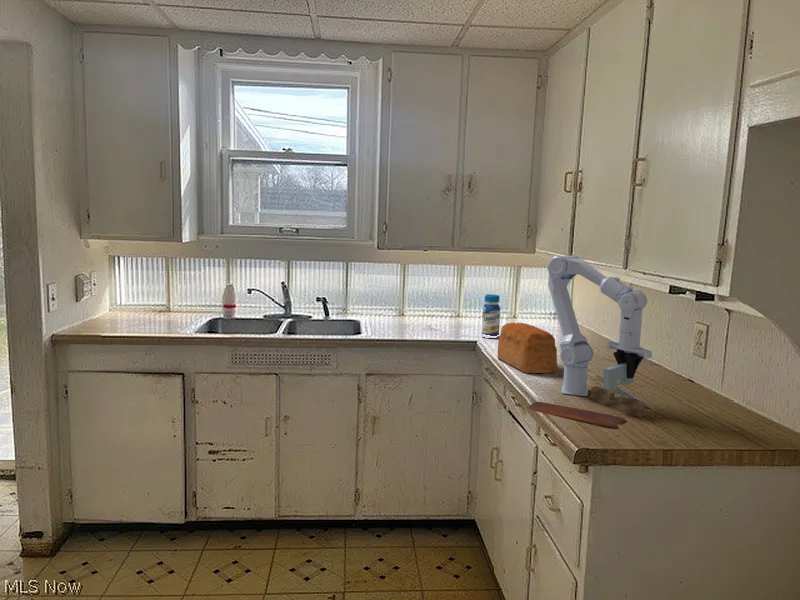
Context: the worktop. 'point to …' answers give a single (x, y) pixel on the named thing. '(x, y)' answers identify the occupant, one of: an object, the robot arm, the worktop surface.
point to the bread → (527, 348)
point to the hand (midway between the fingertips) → (626, 376)
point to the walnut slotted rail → (618, 401)
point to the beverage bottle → (491, 315)
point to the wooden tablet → (578, 414)
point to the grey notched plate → (616, 376)
